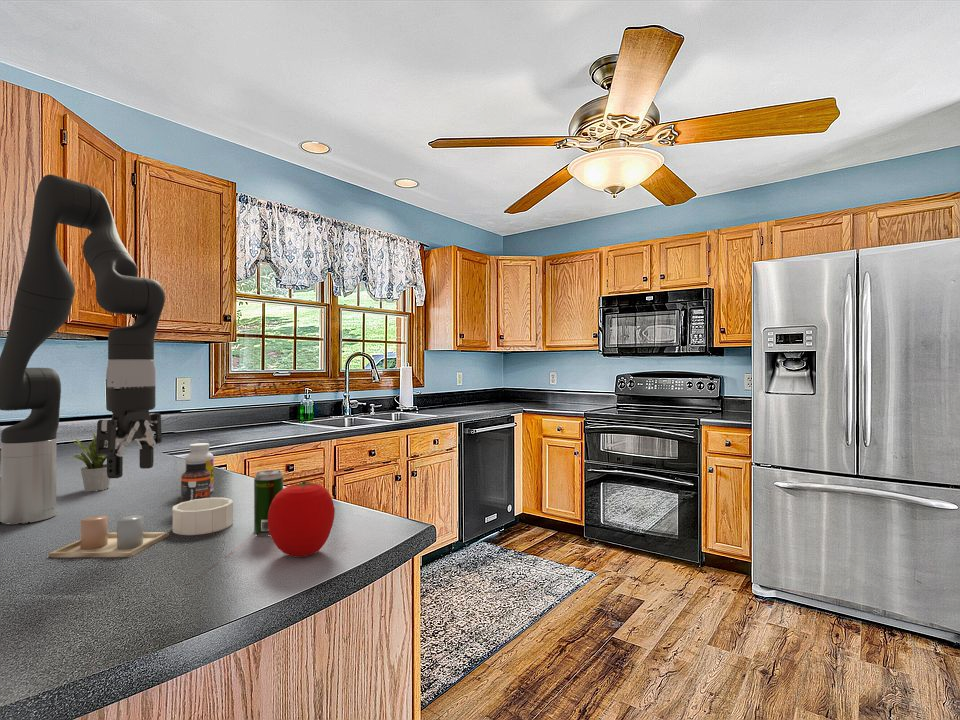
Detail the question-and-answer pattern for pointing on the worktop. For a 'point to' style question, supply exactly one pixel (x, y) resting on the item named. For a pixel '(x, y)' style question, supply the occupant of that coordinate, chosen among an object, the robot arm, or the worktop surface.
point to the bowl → (202, 516)
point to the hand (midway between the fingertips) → (131, 472)
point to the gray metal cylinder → (129, 532)
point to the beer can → (265, 497)
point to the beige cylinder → (94, 532)
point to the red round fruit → (301, 518)
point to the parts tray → (108, 547)
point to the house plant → (93, 467)
